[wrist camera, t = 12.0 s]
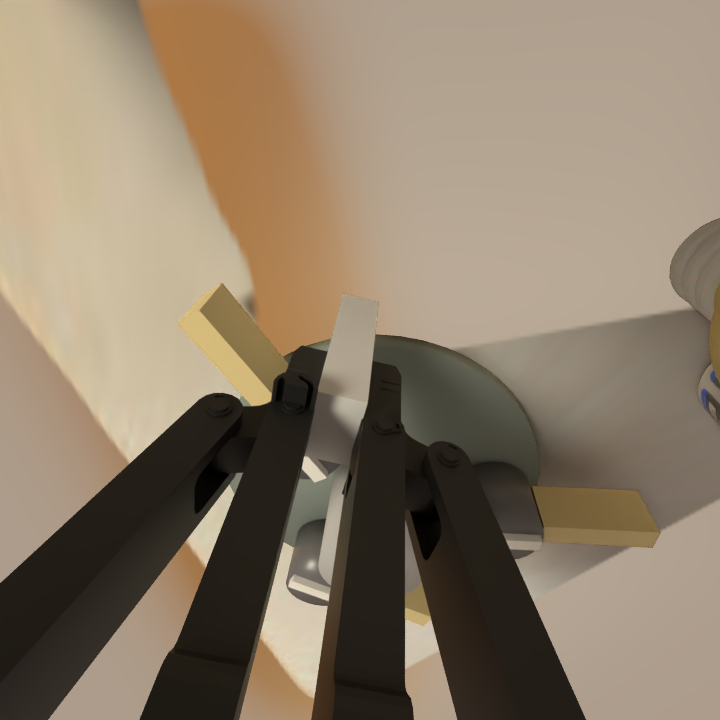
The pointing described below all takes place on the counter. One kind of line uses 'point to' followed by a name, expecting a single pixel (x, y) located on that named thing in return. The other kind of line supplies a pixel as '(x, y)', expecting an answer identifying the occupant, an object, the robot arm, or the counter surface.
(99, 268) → the counter surface
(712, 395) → the pill bottle
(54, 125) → the counter surface
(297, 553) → the knob
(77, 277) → the counter surface
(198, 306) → the knob
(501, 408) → the tribrach plate
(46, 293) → the counter surface
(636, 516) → the knob
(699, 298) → the light bulb
